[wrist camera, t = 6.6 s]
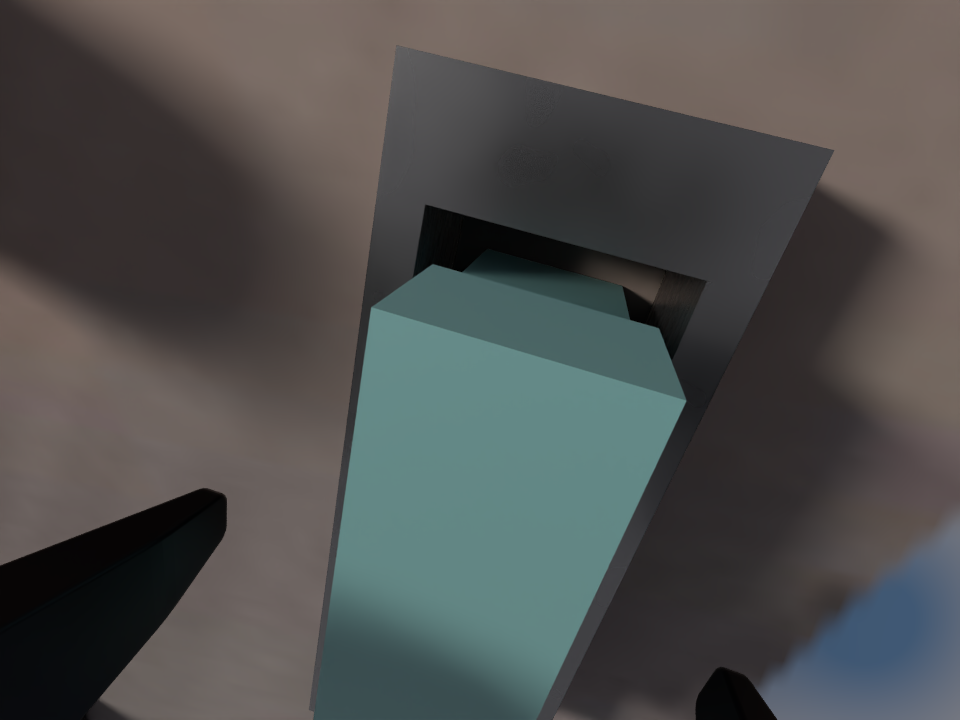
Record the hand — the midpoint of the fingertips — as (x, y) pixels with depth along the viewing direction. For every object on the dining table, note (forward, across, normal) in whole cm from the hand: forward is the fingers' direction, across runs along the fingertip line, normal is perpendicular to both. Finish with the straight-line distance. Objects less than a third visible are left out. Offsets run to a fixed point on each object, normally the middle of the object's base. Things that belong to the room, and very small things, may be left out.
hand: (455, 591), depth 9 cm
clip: (+4, 0, 0) cm, 5 cm away
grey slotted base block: (+4, 0, 0) cm, 4 cm away
